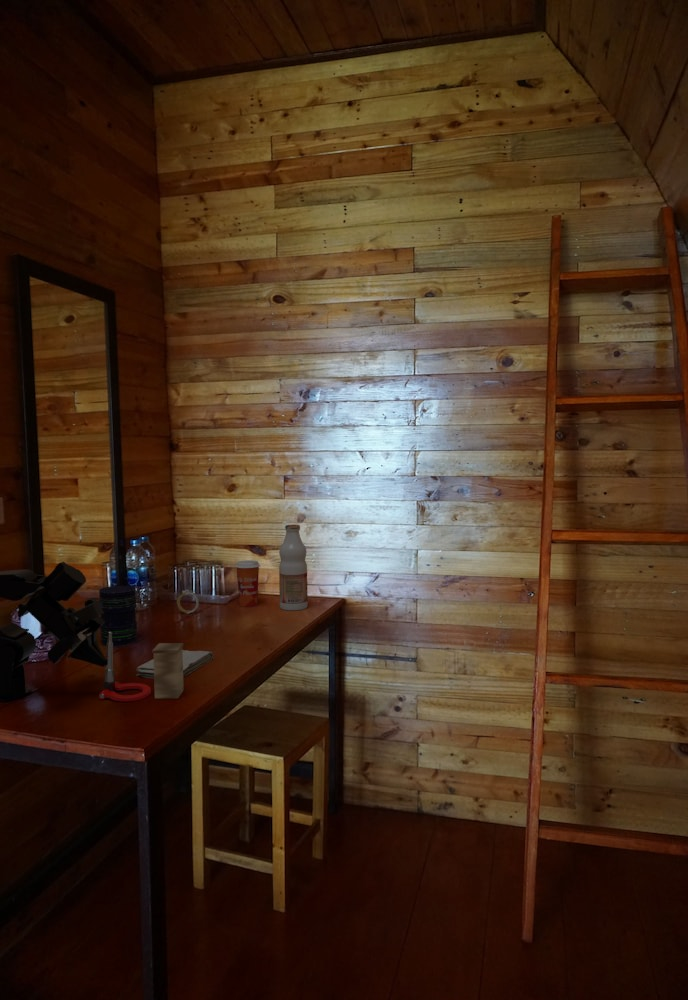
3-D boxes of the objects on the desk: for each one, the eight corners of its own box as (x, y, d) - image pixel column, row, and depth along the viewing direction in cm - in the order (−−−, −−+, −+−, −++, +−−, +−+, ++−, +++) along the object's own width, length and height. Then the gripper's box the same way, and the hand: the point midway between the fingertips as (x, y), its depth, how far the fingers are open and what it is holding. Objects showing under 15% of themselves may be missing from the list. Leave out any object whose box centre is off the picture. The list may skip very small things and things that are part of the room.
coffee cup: (234, 607, 230) (233, 563, 229) (238, 602, 239) (238, 559, 238) (258, 607, 230) (258, 563, 229) (262, 602, 238) (261, 559, 237)
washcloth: (133, 679, 161) (132, 666, 161) (172, 656, 178) (172, 645, 178) (178, 683, 158) (177, 670, 157) (214, 660, 175) (213, 648, 175)
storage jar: (94, 646, 186) (92, 581, 185) (108, 636, 196) (106, 574, 194) (130, 646, 186) (128, 581, 184) (142, 636, 195) (140, 574, 194)
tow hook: (157, 689, 153) (114, 686, 154) (158, 629, 152) (115, 626, 153) (140, 705, 144) (95, 701, 145) (141, 641, 143) (96, 637, 144)
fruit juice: (274, 607, 230) (272, 525, 228) (295, 603, 236) (294, 523, 234) (291, 612, 223) (290, 527, 221) (313, 607, 230) (312, 525, 228)
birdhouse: (153, 698, 147) (152, 650, 146) (164, 684, 156) (163, 638, 155) (178, 698, 147) (177, 650, 146) (188, 684, 156) (187, 638, 155)
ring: (176, 614, 222) (175, 590, 221) (179, 612, 225) (179, 588, 224) (196, 614, 221) (196, 590, 220) (200, 612, 224) (199, 588, 224)
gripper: (60, 599, 138) (116, 651, 139) (94, 581, 157) (143, 627, 158) (23, 637, 139) (79, 689, 140) (61, 615, 158) (111, 661, 158)
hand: (105, 665), depth 149 cm, fingers closed
